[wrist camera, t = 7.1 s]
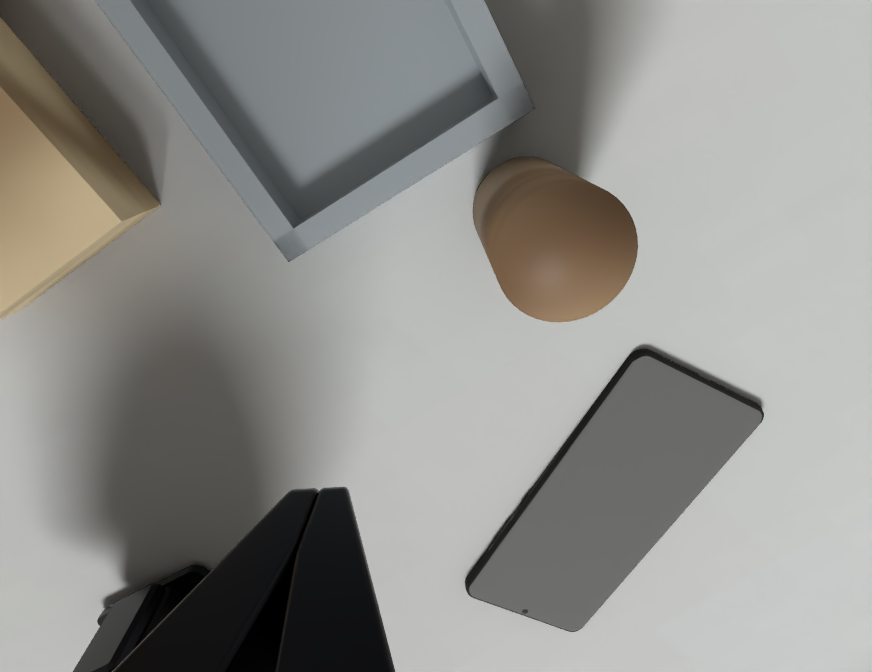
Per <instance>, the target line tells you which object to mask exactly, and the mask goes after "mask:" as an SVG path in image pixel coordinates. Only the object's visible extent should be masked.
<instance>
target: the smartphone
mask: <svg viewBox="0 0 872 672" xmlns="http://www.w3.org/2000/svg"><path fill="white" fill-rule="evenodd" d="M763 417H764V413H763V410H762V408H761V407H760V406H759V405H758V404H757V403H755V402H753V401H751V400H749V399H747V398H745V397H743V396H741V395H739V394H737V393H735V392H733V391H731V390H729V389H727V388H725V387H723V386H721V385H719V384H717V383H715V382H713V381H709V380H707V379H705V378H703V377H701V376H699V375H698V374H697V373H695V372H693V371H691V370H689V369H687V368H685V367H683V366H680V365H678V364H677V363H674V362H673V361H672V362H671V361H670V360H669V359H666V358H664V357H663V356H661V355H659V354H657V353H655V352H653V351H651V350H648V349H639V350H636V351H634V352H633V353H631V354H630V355H629V357H628V358H627V359H626V361H625V362H624V363H623V365H622V366H621V367H620V369H619V370H618V372H617V373H616V374H615V376H614V377H613V378H612V380H611V381H610V382H609V384H608V385H607V387H606V388H605V389H604V391H603V392H602V393H601V395H600V396H599V397H598V399H597V400H596V402H595V403H594V404H593V406H592V407H591V408H590V410H589V411H588V412H587V414H586V415H585V417H584V418H583V419H582V421H581V422H580V423H579V425H578V426H577V427H576V429H575V430H574V432H573V433H572V434H571V436H570V437H569V439H568V440H567V441H566V443H565V444H564V445H563V447H562V448H561V449H560V451H559V452H558V454H557V455H556V456H555V458H554V459H553V460H552V462H551V463H550V465H549V466H548V467H547V469H546V470H545V471H544V473H543V474H542V475H541V477H540V478H539V480H538V481H537V482H536V484H535V485H534V486H533V488H532V489H531V491H530V492H529V493H528V495H527V496H526V497H525V499H524V500H523V502H522V503H521V504H520V506H519V507H518V508H517V510H516V511H515V513H514V514H513V515H512V516H511V517H510V519H509V520H508V522H507V523H506V524H505V526H504V527H503V528H502V530H501V531H500V532H499V534H498V535H497V537H496V538H495V539H494V541H493V542H492V543H491V545H490V546H489V548H488V549H487V550H486V552H485V553H484V555H483V556H482V557H481V559H480V560H479V561H478V563H477V564H476V566H475V567H474V568H473V570H472V571H471V572H470V574H469V575H468V577H467V578H466V581H465V586H466V591H467V593H468V594H469V596H471V597H473V598H475V599H478V600H481V601H484V602H487V603H490V604H492V605H495V606H498V607H501V608H504V609H507V610H509V611H512V612H515V613H518V614H521V615H524V616H527V617H529V618H532V619H535V620H538V621H541V622H544V623H546V624H549V625H552V626H555V627H558V628H561V629H564V630H566V631H570V632H575V631H578V630H580V629H581V628H583V626H584V625H585V624H586V623H587V622H588V621H589V619H590V618H591V617H592V616H593V615H594V614H595V613H596V611H597V610H598V609H599V608H600V607H601V606H602V605H603V603H604V602H605V601H606V600H607V599H608V598H609V597H610V595H611V594H612V593H613V592H614V591H615V590H616V588H617V587H618V586H619V585H620V584H621V583H622V582H623V580H624V579H625V578H626V577H627V576H628V575H629V574H630V572H631V571H632V570H633V569H634V568H635V567H636V566H637V564H638V563H639V562H640V561H641V560H642V559H643V557H644V556H645V555H646V554H647V553H648V552H649V551H650V549H651V548H652V547H653V546H654V545H655V544H656V543H657V541H658V540H659V539H660V538H661V537H662V536H663V534H664V533H665V532H666V531H667V530H668V529H669V528H670V526H671V525H672V524H673V523H674V522H675V521H676V520H677V518H678V517H679V516H680V515H681V514H682V513H683V512H684V510H685V509H686V508H687V507H688V506H689V505H690V503H691V502H692V501H693V500H694V499H695V498H696V497H697V495H698V494H699V493H700V492H701V491H702V490H703V489H704V487H705V486H706V485H707V484H708V483H709V482H710V481H711V479H712V478H713V477H714V476H715V475H716V474H717V472H718V471H719V470H720V469H721V468H722V467H723V466H724V464H725V463H726V462H727V461H728V460H729V459H730V458H731V456H732V455H733V454H734V453H735V452H736V451H737V450H738V448H739V447H740V446H741V445H742V444H743V443H744V441H745V440H746V439H747V438H748V437H749V436H750V435H751V433H752V432H753V431H754V430H755V429H756V428H757V427H758V425H759V424H760V423H761V422H762V420H763Z"/></svg>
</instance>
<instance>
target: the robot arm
mask: <svg viewBox="0 0 872 672" xmlns="http://www.w3.org/2000/svg"><path fill="white" fill-rule="evenodd" d="M97 622H98V624H99V625H100V628H99V629H98V631H97V633H96V634H95V636H94V638H93V639H92V641H91V643H90V644H89V646H88V648H87V649H86V651H85V653H84V654H83V656H82V657H81V659H80V661H79V662H78V664H77V666H76V667H75V669H74V671H73V672H395V669H394V665H393V661H392V657H391V653H390V650H389V646H388V642H387V638H386V634H385V630H384V626H383V622H382V618H381V615H380V611H379V607H378V603H377V599H376V595H375V591H374V587H373V583H372V580H371V576H370V572H369V568H368V564H367V560H366V556H365V552H364V548H363V545H362V541H361V537H360V533H359V529H358V525H357V521H356V517H355V513H354V510H353V506H352V502H351V498H350V494H349V491H348V489H347V488H346V487H332V488H323V489H321V490H320V491H319V490H317V489H315V488H311V489H295V490H291V491H290V492H288V493H287V494H286V495H285V496H284V497H283V498H282V499H281V500H280V501H279V502H278V503H277V504H276V505H275V507H274V508H273V509H272V510H271V511H270V512H269V513H268V514H267V515H266V516H265V517H264V518H263V519H262V520H261V521H260V522H259V523H258V524H257V525H256V526H255V527H254V528H253V529H252V530H251V531H250V532H249V533H248V534H247V535H246V536H245V537H244V538H243V539H242V540H241V541H240V542H239V543H238V544H237V545H236V546H235V547H234V548H233V549H232V550H231V551H230V552H229V553H228V554H227V555H226V556H225V557H224V558H223V559H222V560H221V561H220V562H219V563H218V564H217V566H216V567H215V568H214V569H213V570H212V571H211V572H209V571H208V570H207V569H206V568H204V567H203V566H200V565H192V566H189V567H187V568H185V569H184V570H182V571H180V572H178V573H176V574H174V575H172V576H170V577H168V578H166V579H164V580H162V581H160V582H158V583H154V584H150V585H148V586H146V587H144V588H142V589H141V590H139V591H137V592H135V593H133V594H131V595H129V596H127V597H125V598H123V599H121V600H119V601H117V602H115V603H114V605H113V606H111V607H109V608H107V609H105V610H104V611H103V612H102V613H101V615H100V616H99V618H98V621H97Z"/></svg>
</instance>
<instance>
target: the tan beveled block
mask: <svg viewBox="0 0 872 672" xmlns="http://www.w3.org/2000/svg"><path fill="white" fill-rule="evenodd" d="M160 205H161V204H160V203H159V202H158V201H157V200H156V199H155V197H154V196H153V195H152V194H151V193H150V192H149V190H148V189H147V188H146V187H145V186H144V185H143V183H142V182H141V181H140V180H139V179H138V178H137V176H136V175H135V174H134V173H133V172H132V171H131V169H130V168H129V167H128V166H127V165H126V164H125V162H124V161H123V160H122V159H121V158H120V156H119V155H118V154H117V153H116V152H115V151H114V149H113V148H112V147H111V146H110V145H109V144H108V142H107V141H106V140H105V139H104V138H103V137H102V135H101V134H100V133H99V132H98V131H97V130H96V128H95V127H94V126H93V125H92V124H91V123H90V121H89V120H88V119H87V118H86V117H85V116H84V114H83V113H82V112H81V111H80V110H79V109H78V107H77V106H76V105H75V104H74V103H73V102H72V100H71V99H70V98H69V97H68V96H67V95H66V93H65V92H64V91H63V90H62V89H61V88H60V86H59V85H58V84H57V83H56V82H55V80H54V79H53V78H52V77H51V76H50V75H49V73H48V72H47V71H46V70H45V69H44V68H43V66H42V65H41V64H40V63H39V62H38V61H37V59H36V58H35V57H34V56H33V55H32V54H31V52H30V51H29V50H28V49H27V48H26V47H25V45H24V44H23V43H22V42H21V41H20V40H19V38H18V37H17V36H16V35H15V34H14V33H13V31H12V30H11V29H10V28H9V27H8V26H7V24H6V23H5V22H4V21H3V20H2V19H1V17H0V320H1V319H3V318H5V317H7V316H9V315H11V314H13V313H15V312H17V311H18V310H20V309H22V308H24V307H25V306H27V305H28V304H29V303H31V302H32V301H33V300H35V299H36V298H37V297H39V296H40V295H41V294H43V293H44V292H45V291H47V290H48V289H49V288H51V287H52V286H53V285H55V284H56V283H57V282H59V281H60V280H61V279H63V278H64V277H65V276H67V275H68V274H69V273H71V272H72V271H73V270H75V269H76V268H77V267H79V266H80V265H81V264H83V263H84V262H85V261H87V260H88V259H90V258H91V257H92V256H94V255H95V254H96V253H98V252H99V251H100V250H102V249H103V248H104V247H106V246H107V245H108V244H110V243H111V242H112V241H114V240H115V239H116V238H118V237H119V236H120V235H122V234H123V233H124V232H126V231H127V230H128V229H130V228H131V227H132V226H134V225H135V224H136V223H138V222H139V221H140V220H142V219H143V218H144V217H146V216H147V215H148V214H150V213H151V212H152V211H154V210H155V209H156V208H158V207H159V206H160Z"/></svg>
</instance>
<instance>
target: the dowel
mask: <svg viewBox="0 0 872 672" xmlns="http://www.w3.org/2000/svg"><path fill="white" fill-rule="evenodd" d="M473 220H474V225H475V228H476V231H477V233H478V235H479V238H480V240H481V242H482V245H483V247H484V249H485V252H486V254H487V256H488V259H489V261H490V263H491V266H492V268H493V270H494V273H495V275H496V277H497V280H498V282H499V284H500V286H501V289H502V291H503V292H504V294H505V295H506V297H507V298H508V299H509V301H510V302H511V303H512V304H513V305H514V306H515V307H517V308H518V309H519V310H520V311H522V312H524V313H525V314H527V315H529V316H531V317H533V318H536V319H539V320H543V321H549V322H568V321H574V320H578V319H581V318H584V317H587V316H589V315H591V314H594V313H596V312H597V311H599V310H600V309H602V308H604V307H605V306H606V305H607V304H609V303H610V302H611V301H612V300H613V299H614V298H615V297H616V296H617V295H618V294H619V293H620V292H621V290H622V289H623V288H624V286H625V285H626V283H627V282H628V280H629V278H630V276H631V274H632V271H633V268H634V265H635V262H636V257H637V249H638V241H637V233H636V228H635V225H634V222H633V219H632V217H631V215H630V213H629V212H628V210H627V209H626V207H625V206H624V205H623V204H622V203H621V202H620V201H619V200H618V199H617V198H616V197H615V196H614V195H612V194H611V193H609V192H608V191H606V190H604V189H602V188H600V187H598V186H596V185H594V184H592V183H590V182H588V181H586V180H584V179H582V178H580V177H578V176H576V175H574V174H572V173H570V172H568V171H566V170H564V169H562V168H560V167H558V166H556V165H554V164H552V163H550V162H548V161H545V160H543V159H540V158H535V157H519V158H514V159H511V160H508V161H506V162H504V163H502V164H500V165H498V166H497V167H496V168H494V169H493V170H492V171H491V172H490V173H489V174H488V175H487V176H486V177H485V178H484V180H483V181H482V183H481V184H480V186H479V188H478V190H477V192H476V195H475V198H474V203H473Z"/></svg>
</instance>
